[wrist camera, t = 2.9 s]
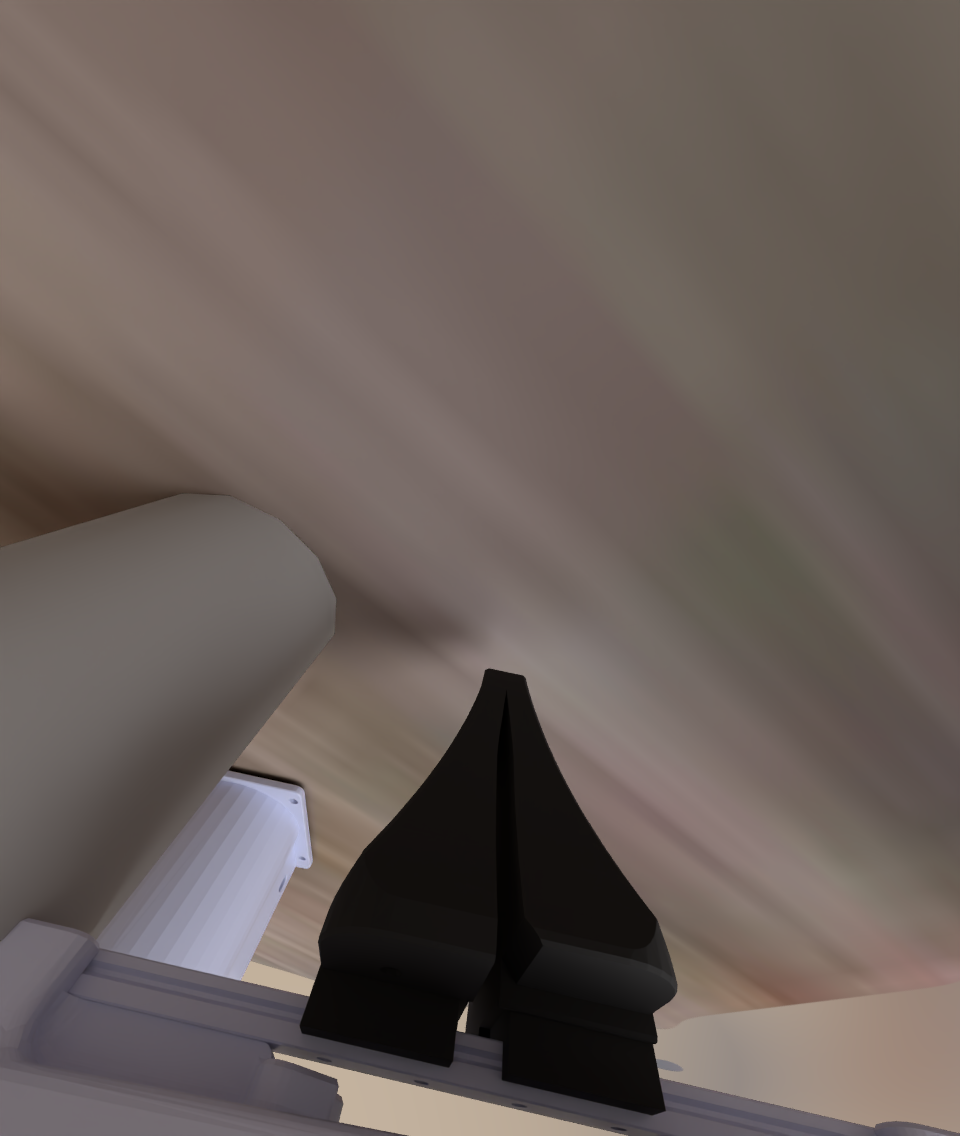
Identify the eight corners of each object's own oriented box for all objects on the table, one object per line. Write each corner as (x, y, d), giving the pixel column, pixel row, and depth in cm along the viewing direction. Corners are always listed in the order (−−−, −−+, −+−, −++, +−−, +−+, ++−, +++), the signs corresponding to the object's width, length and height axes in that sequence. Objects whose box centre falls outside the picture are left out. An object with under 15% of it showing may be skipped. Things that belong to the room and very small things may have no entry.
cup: (106, 566, 15) (-529, 833, 6) (204, 444, 12) (-777, 603, 3) (264, 691, 17) (-11, 1010, 8) (377, 616, 14) (137, 985, 5)
